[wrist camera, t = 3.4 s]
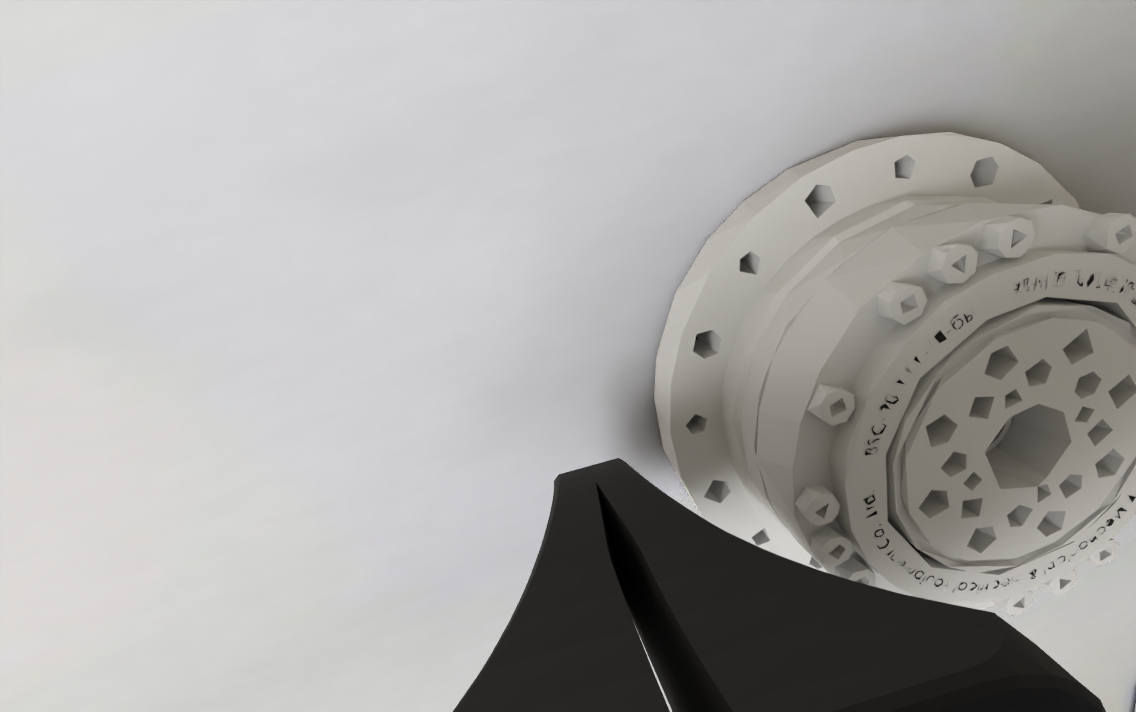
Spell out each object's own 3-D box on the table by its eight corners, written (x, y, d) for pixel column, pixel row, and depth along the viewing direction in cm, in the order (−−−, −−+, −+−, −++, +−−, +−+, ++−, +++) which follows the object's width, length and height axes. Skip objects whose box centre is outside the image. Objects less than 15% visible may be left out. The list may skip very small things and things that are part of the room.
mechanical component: (1080, 413, 14) (980, 42, 11) (1325, 505, 10) (1280, -47, 7) (756, 606, 15) (568, 302, 11) (863, 772, 10) (615, 367, 7)
